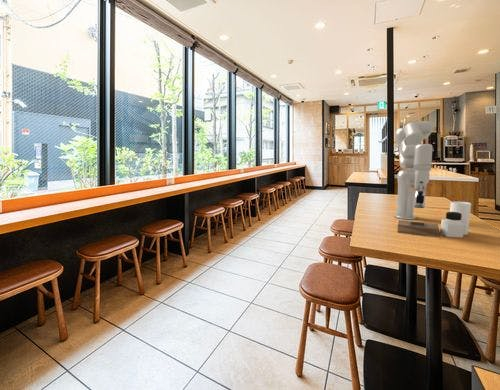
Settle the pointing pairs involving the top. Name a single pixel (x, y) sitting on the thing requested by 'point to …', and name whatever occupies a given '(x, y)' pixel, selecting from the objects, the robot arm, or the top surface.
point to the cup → (464, 210)
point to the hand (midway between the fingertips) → (419, 202)
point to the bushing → (418, 205)
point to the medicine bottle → (452, 225)
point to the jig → (418, 228)
